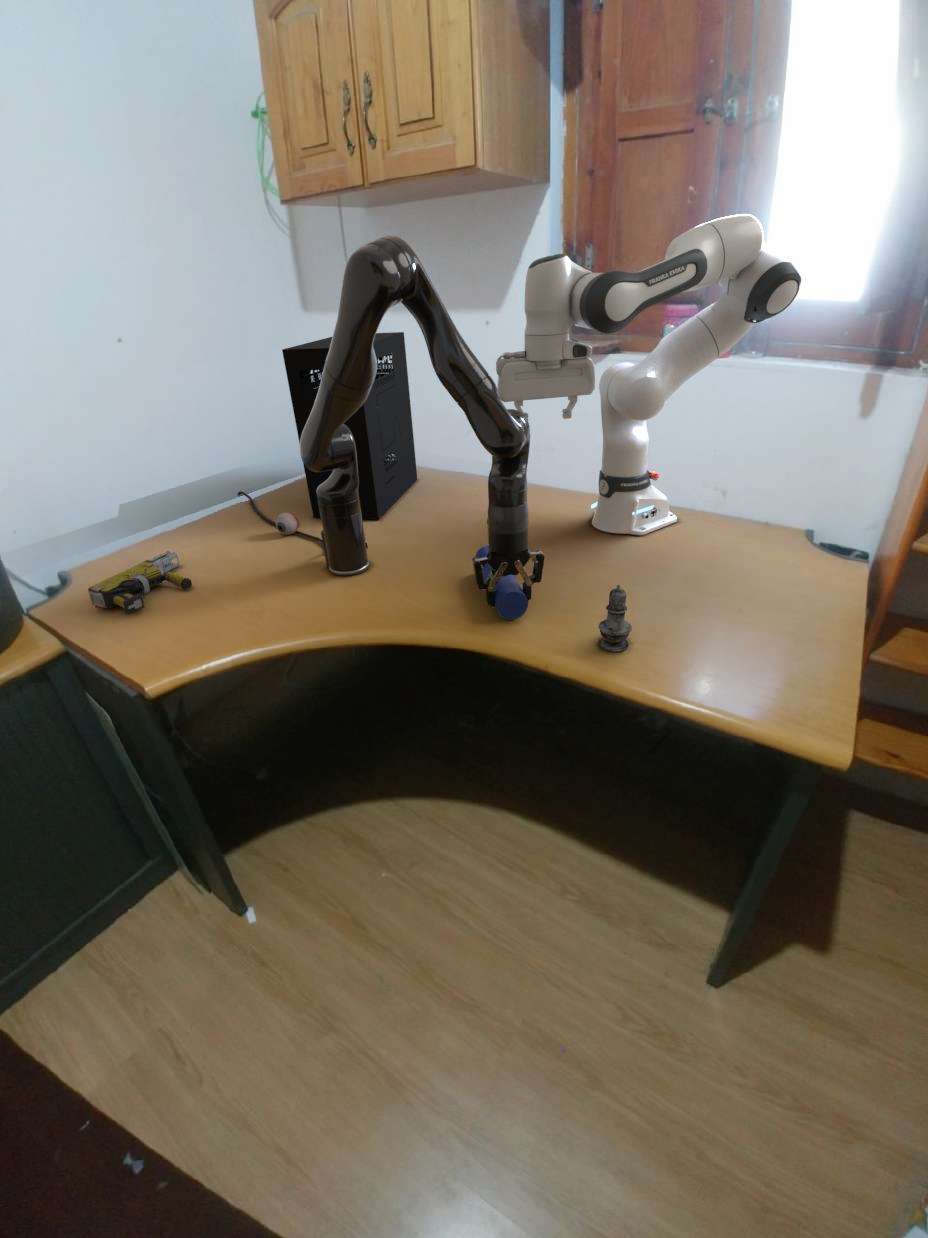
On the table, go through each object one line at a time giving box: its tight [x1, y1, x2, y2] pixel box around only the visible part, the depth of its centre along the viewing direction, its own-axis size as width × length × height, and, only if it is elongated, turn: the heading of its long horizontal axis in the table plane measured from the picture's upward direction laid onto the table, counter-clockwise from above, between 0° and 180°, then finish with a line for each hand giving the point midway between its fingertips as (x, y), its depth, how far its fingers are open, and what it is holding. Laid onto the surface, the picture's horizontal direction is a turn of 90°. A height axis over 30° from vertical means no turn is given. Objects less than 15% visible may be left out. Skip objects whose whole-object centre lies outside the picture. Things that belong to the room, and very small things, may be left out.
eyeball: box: [275, 511, 300, 536], centre depth 163 cm, size 6×6×6 cm
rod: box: [474, 544, 529, 621], centre depth 126 cm, size 23×6×6 cm, turn 10°
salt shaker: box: [597, 584, 633, 653], centre depth 106 cm, size 6×6×12 cm
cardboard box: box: [281, 331, 418, 521], centre depth 178 cm, size 38×20×45 cm, turn 167°
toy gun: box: [87, 550, 193, 615], centre depth 138 cm, size 5×24×15 cm
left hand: (508, 603), depth 120 cm, fingers closed on rod, 6 cm apart
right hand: (545, 420), depth 128 cm, fingers open, 8 cm apart
